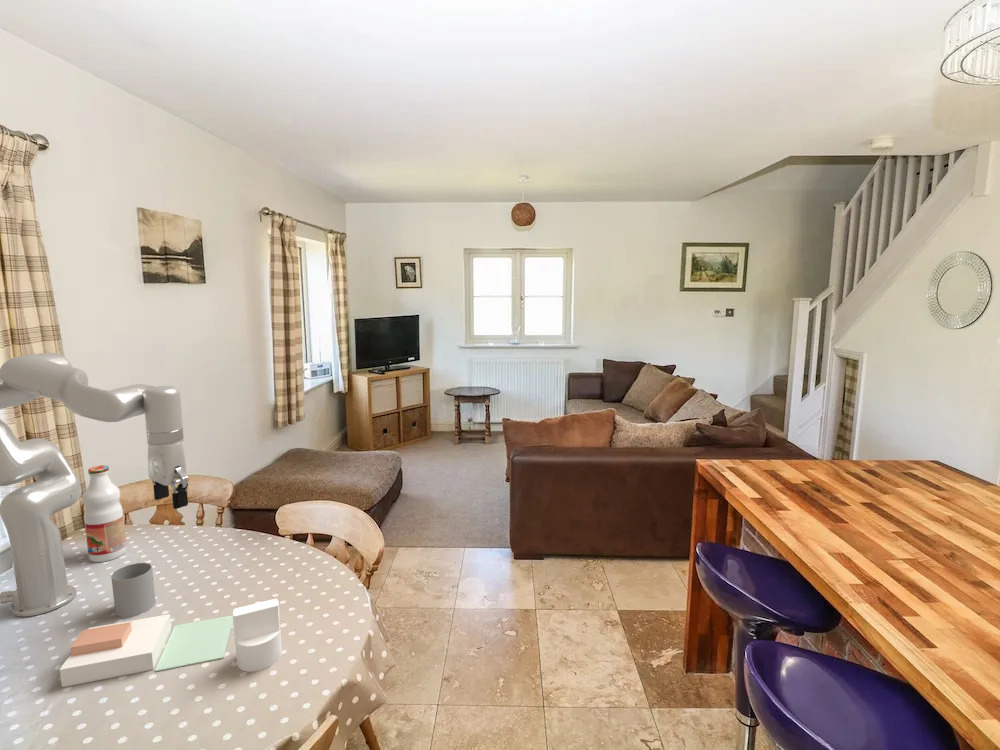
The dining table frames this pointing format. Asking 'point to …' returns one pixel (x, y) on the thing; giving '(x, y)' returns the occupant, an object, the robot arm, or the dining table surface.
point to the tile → (101, 638)
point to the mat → (196, 643)
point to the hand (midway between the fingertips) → (171, 502)
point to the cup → (133, 590)
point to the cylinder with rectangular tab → (257, 635)
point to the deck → (120, 654)
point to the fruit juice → (103, 517)
